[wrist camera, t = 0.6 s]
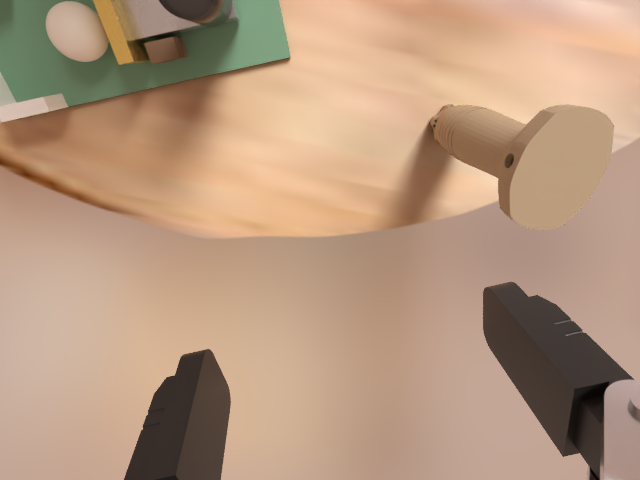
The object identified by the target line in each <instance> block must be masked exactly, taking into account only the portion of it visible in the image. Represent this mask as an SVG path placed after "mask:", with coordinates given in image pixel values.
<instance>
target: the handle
mask: <svg viewBox="0 0 640 480" xmlns="http://www.w3.org/2000/svg"><path fill="white" fill-rule="evenodd" d="M430 125H431V126H432V128H433V131H434V136H433V138H434V139H435V141H436V142H437V143H439V144H440V145H441V146H442V147H443V148H444V149H445V150H446V151H447V152H448V153H450V154H451V155H452V156H454V157H455V158H457V159H458V160H460V161H462V162H464V163H466V164H468V165H470V166H473V167H475V168H477V169H480V170H482V171H484V172H487V173H489V174H491V175H493V176H495V177H497V178H499V180H498V193H499V203H500V208H501V210H502V211H503V212H504V213H505V214H506V215H507V216H508V217H509V218H511V219H512V220H513V221H515V222H516V223H517V224H519V225H521V226H523V227H525V228H529V229H534V230H548V229H553V228H557V227H559V226H562V225H564V224H565V223H566V222H567V221H568V220H569V219H570V218H571V217H572V216H574V214H576V212H578V211H579V210H580V209H581V208H582V207H583V206H584V205H585V204H586V202H587V201H588V200H589V199H590V197H591V196H592V195H593V193H594V191H595V190H596V188H597V186H598V184H599V182H600V180H601V178H602V176H603V175H604V173H605V171H606V168H607V166H608V164H609V160H610V156H611V151H612V143H613V131H614V125H613V123H612V122H611V120H610V119H609V118H608V117H607V115H605V114H603V113H602V112H600V111H598V110H595V109H592V108H587V107H581V106H574V105H556V106H553V107H549V108H546V109H544V110H542V111H540V112H539V113H538V114H537V115H536V116H535V117H534V118H533V119H532V120H531V121H530V122H529V123H528V124H527V125H526V124H523V123H521V122H518V121H516V120H513V119H511V118H509V117H507V116H504V115H502V114H500V113H498V112H495V111H493V110H490V109H487V108H483V107H479V106H472V105H458V106H454V105H445V106H443V107H442V110H441V111H440V112H439V113H438V114H437V115H436V116H435V117H432V119H431V122H430Z"/></svg>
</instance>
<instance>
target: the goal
mask: <svg viewBox="0 0 640 480" xmlns="http://www.w3.org/2000/svg"><path fill="white" fill-rule="evenodd" d="M66 107H68V105H67V103H66V101H65V99H64V96H63V94H62V93H61V94H56V95H50V96H45V97H40V98H36V99H31V100H27V101H22V102H18V103H17V102H16V100H15V98H14V97H13V95H12V93H11V91H10V89H9V87H8V85H7V83H6V82H5V80H4V78H3V76H2V74H1V72H0V123H1V122H6V121H10V120H15V119H19V118H24V117H28V116H33V115H37V114H42V113H46V112H50V111H54V110H58V109H62V108H66Z"/></svg>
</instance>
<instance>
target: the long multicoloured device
mask: <svg viewBox="0 0 640 480" xmlns="http://www.w3.org/2000/svg"><path fill="white" fill-rule="evenodd" d="M93 2H94V4H95V7H96V9H97V12H98V14H99V17H100V19H101V22H102V24H103V27H104V29H105V32H106V34H107V37H108V39H109V42H110V44H111V47H112V49H113V52H114V54H115V57H116V59H117V62H118V64H119V65H124V64H136V63H143V62H147V61H150V58H149V55H148V53H147V50H146V47H145V45H144V43H146V41H147V40H151V39H156V38H160V37H165V36H169V35H174V34H178V33H182V32H187V31H191V30H196V29H200V28H205V27H217V26H220V25H222V24H223V23H227V22H231V21H236V20H240V17H239V13H238V9H237V5H236V1H235V0H93Z"/></svg>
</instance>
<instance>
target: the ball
mask: <svg viewBox="0 0 640 480" xmlns="http://www.w3.org/2000/svg"><path fill="white" fill-rule="evenodd" d="M46 31H47V34H48V37H49V39H50V41H51V42H52V44H53V45H54V46H55V48H56V49H57V50H58V51H60V52H61V53H62V54H63V55H65V56H66V57H68V58H70V59H73V60H76V61H80V62H90V61H94V60H97V59H99V58H100V57H101V56H102V55H103V54H104V53H105V52H106V50H107V47H108V43H109V39H108V37H107V34H106V32H105V29H104V27H103V24H102V22H101V19H100V17H99V15H98V14H97V13H96V12H95V11H94V10H92V9H91V8H90V7H88V6H86V5H84V4H81V3H78V2H74V1H65V2H61V3H58V4H56V5H55V6H53V7H52V8H51V9H50V11H49V12H48V14H47V17H46Z"/></svg>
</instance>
